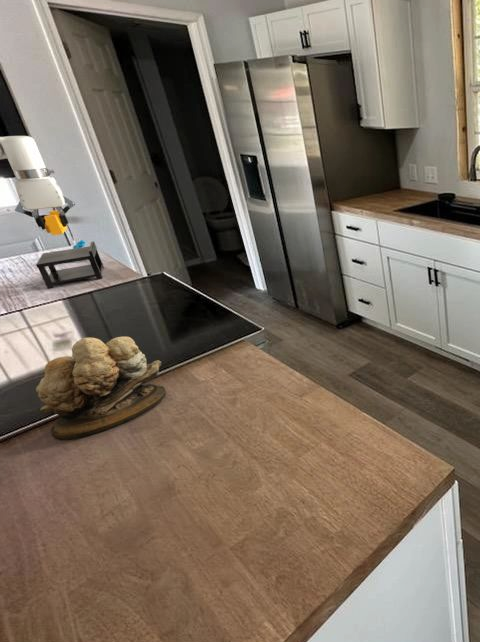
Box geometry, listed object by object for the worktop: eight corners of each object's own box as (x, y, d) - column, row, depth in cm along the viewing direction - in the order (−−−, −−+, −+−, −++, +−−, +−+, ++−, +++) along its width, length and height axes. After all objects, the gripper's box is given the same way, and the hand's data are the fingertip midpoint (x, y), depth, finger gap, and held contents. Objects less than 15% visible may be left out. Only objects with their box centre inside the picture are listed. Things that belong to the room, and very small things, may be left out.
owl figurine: (166, 379, 92) (140, 311, 86) (177, 402, 85) (150, 330, 79) (51, 421, 80) (11, 345, 74) (52, 452, 73) (8, 371, 66)
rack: (47, 289, 141) (33, 260, 137) (53, 276, 152) (40, 249, 148) (102, 278, 150) (91, 251, 146) (104, 267, 161) (93, 241, 157)
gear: (63, 255, 170) (80, 235, 171) (81, 261, 174) (98, 242, 176) (64, 265, 163) (82, 244, 164) (82, 271, 168) (100, 251, 169)
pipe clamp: (50, 229, 148) (42, 211, 145) (67, 227, 150) (60, 209, 148) (44, 236, 139) (36, 217, 137) (62, 234, 142) (55, 215, 139)
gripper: (68, 171, 145) (88, 221, 152) (-4, 176, 135) (21, 229, 142) (66, 173, 140) (87, 225, 147) (-9, 178, 130) (17, 234, 136)
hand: (54, 226), depth 144 cm, fingers closed on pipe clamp, 4 cm apart
